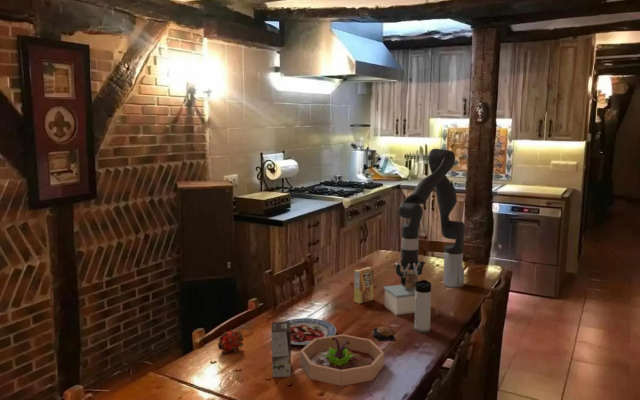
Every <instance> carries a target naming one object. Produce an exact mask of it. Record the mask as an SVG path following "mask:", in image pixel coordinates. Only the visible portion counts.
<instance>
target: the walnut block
mask: <svg viewBox="0 0 640 400" xmlns="http://www.w3.org/2000/svg"><path fill="white" fill-rule="evenodd" d="M416 282H418V276H417V274H415V273H414V272H412V270H409V271H408V272H407V273H406V275H405V285H404V286H403V285H402V284H401V283H400V285H402V286H403V287H405V288H406V289H408V288H416Z"/></svg>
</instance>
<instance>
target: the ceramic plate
mask: <svg viewBox="0 0 640 400" xmlns="http://www.w3.org/2000/svg"><path fill="white" fill-rule="evenodd" d="M286 321H290V333H291V345H294V346H295V345H296V346H299V345H300V346H306V345H308V344H309V343H310V342H311V341H312V340H314V339H315V338H322V337H329V336H335V335H337V328H336V326H335V325H334V324H333V323H330V322H328V321H325V320H324V319H318V318H312V317H311V318H309V317H308V318H307V317H301V318H293V319H292V318H291V319H288V320H286ZM270 333H272V330H271V332H270Z"/></svg>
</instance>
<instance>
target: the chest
mask: <svg viewBox="0 0 640 400" xmlns="http://www.w3.org/2000/svg"><path fill="white" fill-rule="evenodd" d="M384 307H385V308H386V309H387V310H389V311H390V312H391V313H393V314H394V315H395V316H402V315H403V316H405V315H411V314H415V295H411V296H404V297H395V296H393V295H392V294H391V293H389V292H388V291H386V290H385V289H384Z"/></svg>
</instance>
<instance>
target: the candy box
mask: <svg viewBox="0 0 640 400" xmlns="http://www.w3.org/2000/svg"><path fill="white" fill-rule="evenodd" d="M353 272H354V276H353V277H354V283H353V285H354V286H353V287H354V288H353V289H354V290H353V293H354V294H353V301H354V302H355V303H357V304H363V303H366V302H369V301H372V300H374V268H372V267H370V266H367V267H362V268H359V269H354V271H353Z"/></svg>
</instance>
